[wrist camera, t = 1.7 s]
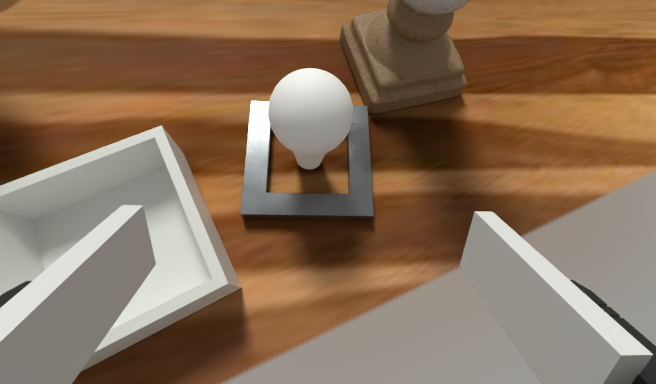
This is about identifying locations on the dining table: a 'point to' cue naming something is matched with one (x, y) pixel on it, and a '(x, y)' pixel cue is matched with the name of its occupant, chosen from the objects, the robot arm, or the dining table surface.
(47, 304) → the robot arm
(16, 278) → the bin
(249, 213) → the dark grey square frame
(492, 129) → the dining table surface
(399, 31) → the candle holder
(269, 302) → the dining table surface
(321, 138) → the lightbulb
